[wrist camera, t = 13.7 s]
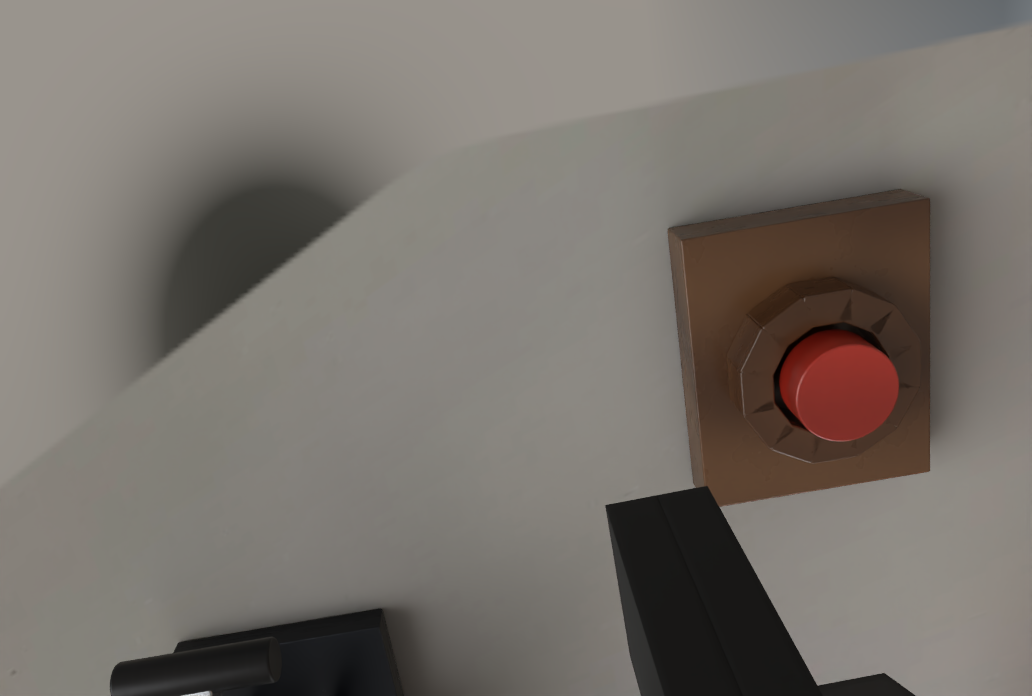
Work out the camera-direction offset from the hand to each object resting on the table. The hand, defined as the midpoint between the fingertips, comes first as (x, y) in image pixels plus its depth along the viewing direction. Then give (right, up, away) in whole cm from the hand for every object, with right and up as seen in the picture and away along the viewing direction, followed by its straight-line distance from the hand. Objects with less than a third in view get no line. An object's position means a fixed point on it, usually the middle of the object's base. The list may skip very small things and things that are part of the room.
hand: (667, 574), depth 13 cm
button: (+9, +2, +18) cm, 21 cm away
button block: (+9, +3, +22) cm, 24 cm away
